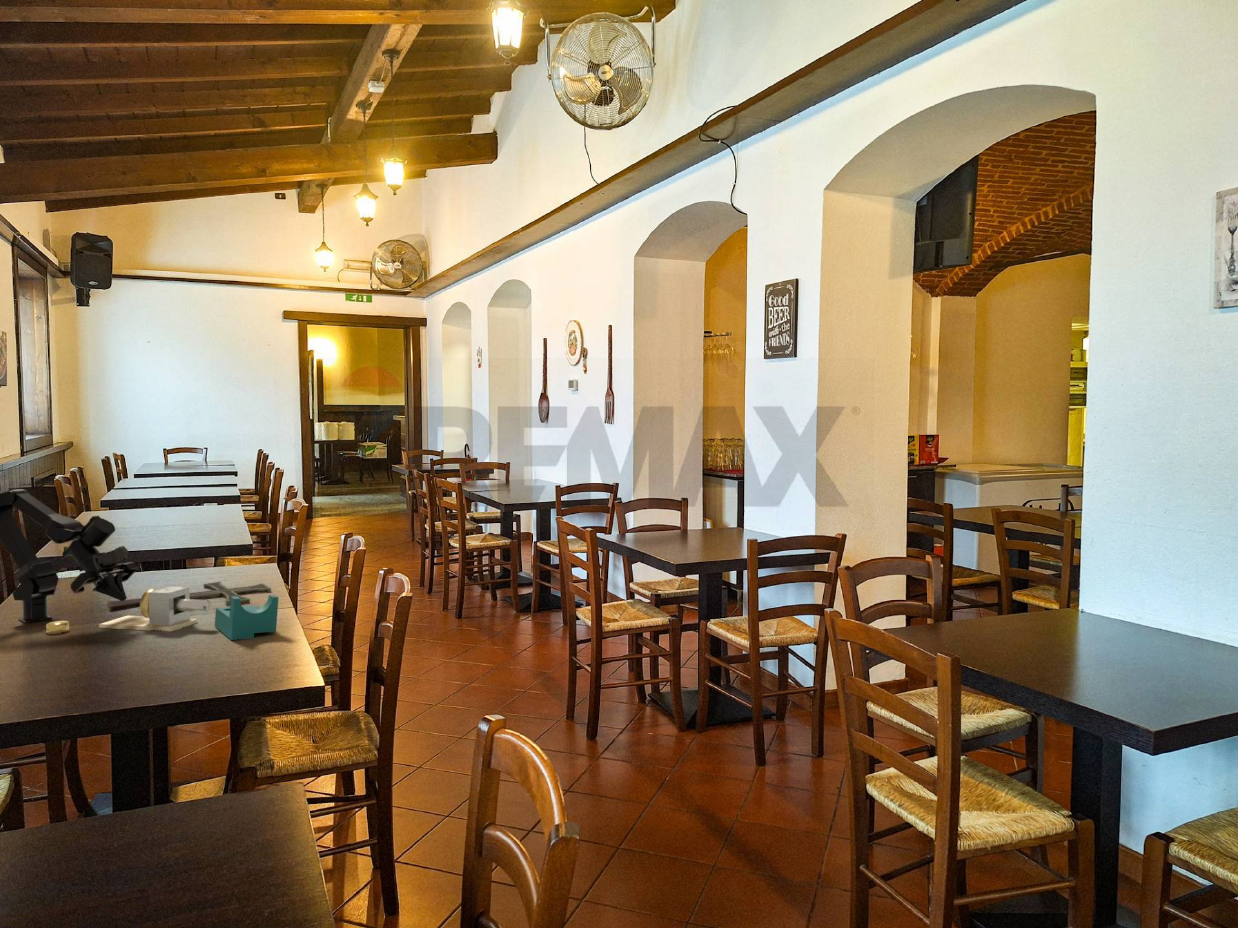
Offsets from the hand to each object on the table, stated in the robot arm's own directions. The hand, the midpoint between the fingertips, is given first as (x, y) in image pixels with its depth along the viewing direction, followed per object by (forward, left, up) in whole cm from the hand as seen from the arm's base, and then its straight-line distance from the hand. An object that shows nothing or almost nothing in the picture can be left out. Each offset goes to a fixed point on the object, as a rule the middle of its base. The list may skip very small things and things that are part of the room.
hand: (124, 599), depth 229 cm
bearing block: (+12, +6, -6) cm, 15 cm away
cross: (-19, +27, -7) cm, 33 cm away
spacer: (-5, -14, -7) cm, 17 cm away
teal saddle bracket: (+33, +17, -7) cm, 37 cm away
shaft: (+15, +8, -5) cm, 17 cm away
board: (+6, +3, -7) cm, 10 cm away
